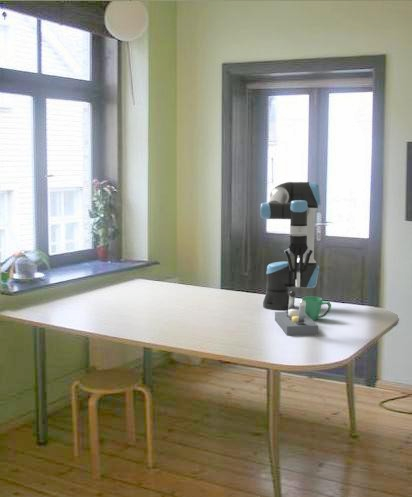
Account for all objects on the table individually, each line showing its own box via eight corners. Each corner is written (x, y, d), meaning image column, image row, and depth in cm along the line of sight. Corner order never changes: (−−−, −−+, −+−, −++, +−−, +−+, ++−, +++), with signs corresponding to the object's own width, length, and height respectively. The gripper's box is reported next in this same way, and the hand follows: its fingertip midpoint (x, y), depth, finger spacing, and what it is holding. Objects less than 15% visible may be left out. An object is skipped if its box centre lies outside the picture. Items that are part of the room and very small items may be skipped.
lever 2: (296, 319, 323) (298, 299, 318) (303, 319, 323) (305, 298, 318) (298, 323, 320) (300, 302, 315) (304, 323, 321) (307, 302, 315)
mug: (298, 319, 347) (298, 299, 345) (306, 315, 355) (307, 295, 353) (326, 323, 339) (327, 302, 337) (334, 319, 347) (335, 299, 345)
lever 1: (286, 309, 344) (288, 289, 338) (293, 309, 344) (295, 289, 339) (288, 312, 341) (290, 293, 336) (294, 312, 341) (296, 292, 336)
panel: (274, 320, 345) (274, 311, 345) (303, 319, 347) (303, 310, 346) (286, 335, 318) (287, 325, 317) (318, 334, 319) (318, 325, 319)
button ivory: (287, 317, 339) (287, 309, 338) (297, 317, 339) (297, 308, 338) (289, 319, 334) (289, 311, 333) (300, 319, 334) (300, 311, 334)
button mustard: (290, 324, 331) (290, 316, 331) (301, 324, 332) (301, 315, 331) (292, 327, 326) (292, 318, 326) (303, 326, 327) (303, 318, 326)
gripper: (285, 236, 319) (285, 288, 322) (314, 235, 320) (313, 287, 324) (282, 234, 326) (281, 285, 330) (310, 233, 328) (309, 284, 331)
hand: (297, 286), depth 327 cm, fingers closed
